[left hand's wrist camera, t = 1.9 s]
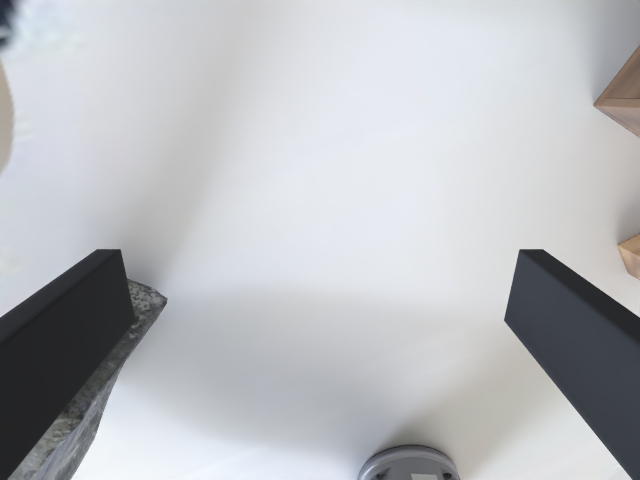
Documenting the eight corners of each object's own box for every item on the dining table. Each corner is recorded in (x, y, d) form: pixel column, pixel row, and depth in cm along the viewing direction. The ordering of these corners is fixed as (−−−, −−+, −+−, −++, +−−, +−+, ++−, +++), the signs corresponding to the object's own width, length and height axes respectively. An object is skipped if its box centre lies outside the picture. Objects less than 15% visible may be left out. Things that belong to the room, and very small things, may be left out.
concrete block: (117, 249, 42) (-42, 372, 24) (187, 286, 44) (91, 428, 25) (44, 399, 51) (-116, 578, 32) (106, 426, 52) (-12, 609, 34)
